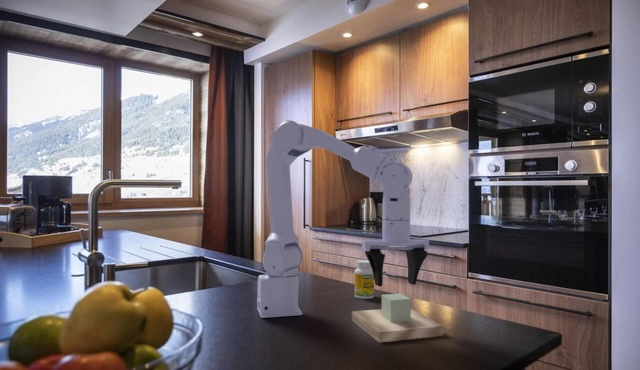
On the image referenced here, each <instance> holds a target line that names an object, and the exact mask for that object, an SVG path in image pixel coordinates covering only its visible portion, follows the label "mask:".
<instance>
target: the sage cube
mask: <svg viewBox="0 0 640 370" xmlns="http://www.w3.org/2000/svg"><path fill="white" fill-rule="evenodd" d="M411 305H412V299H411V298H410V297H408V296H406V295H404V294H403V293H387V294H381V309H382V317H384V318H385V319H386V320H388V321H389V322H403V321H411V309H412V306H411Z"/></svg>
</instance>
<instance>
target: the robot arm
mask: <svg viewBox="0 0 640 370" xmlns="http://www.w3.org/2000/svg"><path fill="white" fill-rule="evenodd" d="M313 149H316V150H318V149H324V150H326V151H328V152H331V154H332V153H333V155H334V154H335V155H336V156H339V157H341V158H343V159H345V160H347V161H349V163H350V165H351V168H352V170H354V171H355V172H358V173H360V174H361V175H364V176H365V177H367V178H370V179H371V180H372V181H375V182H378V183H379V182H380V183H381V185H382V187H383V194H382V195H383V196H382V234H381V236H382V238H381V239H372V240H371V239H370V240H361V250H362V251H364V254H365V257H366V258H367V260H369V263H370V265H371V268H372V271H373V275H374V286H377V287H383V282H384V277H383V275H384V274H383V272H384V264H385V263H384V262H385V259H386V258H385V257H386V254H384V253H382V251H399V250H400V251H401V250H403V251H405V254H406V259H407V260H406V261H407V282H408V284H411V285H413V286H415V285H416V284H417V280H418V277H419V273H420V270H421V268H422V265H423V263H424V261H425V260H426V258H427V256H428V251H427V250H430V240H428V239H415V238H414V239H411V195H410V194H411V190H410V185H411V183H412V181H413V173H412V172H413V171H412V170H411V169H410V168H409V166H407V165H406V164H405V163H404V162H403V163H402V162H397V161H395V159H396V158H395V157H393V156H392V155H390V156H389V157H388V156H387V155H384V154H383V153H381V152H378V151H376V149H377V148H376V147H374V146H373V145H369V146H367V145H362V146H359V147H355V146H352V145H351V144H349V143H347V142H345V141H343V140H342V139H340V138H337V137H335V136H334V135H332V134H330V133H328V132H326V131H324V130H321V129H319V128H316V127H312V126H309V125H306V124H304V123H303V124H302V123H301V124H300V123H298V122H297V121H295V120H285V121H282V122H281V123H280V124H279V125H278V126H276V128H274V130H273V131H272V142H271V144H270V147H269V149H268V152H267V155H266V160H265V161H266V163H265V164H266V177H267V193H268V210H269V211H268V212H269V226H270V227H269V228H270V232H269V235H268V237H267V239H266V241H265V242H264V248H265V249H264V252H263V255H262V260H261V262H262V263H261V264H262V266H263V268H264V270H265V272H266V274H259V275H258V276H257V299H256V306H257V307H256V309H257V311H258V314H259V316H260V318H261V319H265V318H278V317H279V318H280V317H292V316H297V317H298V316H302V315H303V311H302V310H301V309H300V308H299V267H300V266H301V265H302V263H303V260H304V253H303V251H302V248H301V247H300V242H299V237H298V236H297V234H296V232H294V218H293V217H294V216H293V214H294V213H293V201H292V199H293V198H292V186H291V184H292V183H291V182H292V181H291V165H292V163H294V162H295V161H296V160H297V159H298V157H300V156H302V155H304V154H306V153H308V152H309V151H311V150H313Z"/></svg>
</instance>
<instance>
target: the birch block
mask: <svg viewBox="0 0 640 370" xmlns="http://www.w3.org/2000/svg"><path fill="white" fill-rule="evenodd" d="M351 321H352V322H354V323H355V324H356V325H357V326H358V327H360V328H361V329H363V331H365V333H367V334H368V335H370V337H371V338H373V339H374V340H375V341H377V342H378V343H386V342H396V341H398V342H399V341H405V340H407V341H408V340H415V339H416V338H417V339H424V338H426V339H427V338H434V337H443V336H444V335H445V333H444V330H445V329H444V327H445V326H444V325H443V324H440V323H439V322H437V321H435V320H434V319H432V318H430V317H427V316H426V315H424V314H423V313H421V312H419V311H417V310H415V309H413V308H411V321H403V322H389V321H388V320H386V319H385V318H384V317H382V308H379V309H378V308H377V309H367V310H365V309H364V310H354V311H351ZM417 339H416V340H417Z"/></svg>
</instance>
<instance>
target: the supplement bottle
mask: <svg viewBox="0 0 640 370" xmlns="http://www.w3.org/2000/svg"><path fill="white" fill-rule="evenodd" d="M356 266H357V268H356V269H355V270H354V297H355V298H357V299H360V300H361V299H362V300H369V299H374V297H375V280H374V275H373V271H372V268H371V265H370V263H369V260H368V259H360V260H357V261H356Z"/></svg>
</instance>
